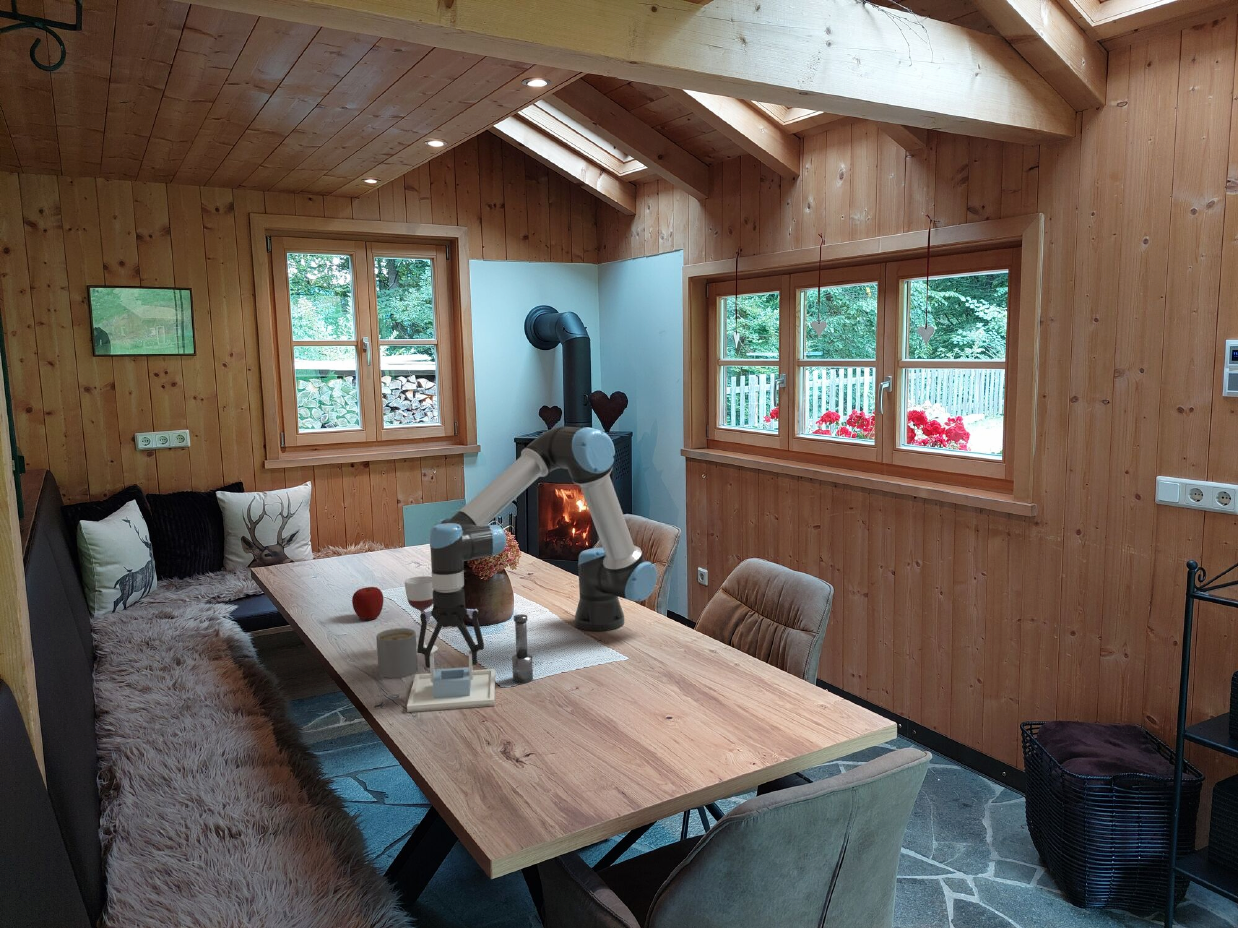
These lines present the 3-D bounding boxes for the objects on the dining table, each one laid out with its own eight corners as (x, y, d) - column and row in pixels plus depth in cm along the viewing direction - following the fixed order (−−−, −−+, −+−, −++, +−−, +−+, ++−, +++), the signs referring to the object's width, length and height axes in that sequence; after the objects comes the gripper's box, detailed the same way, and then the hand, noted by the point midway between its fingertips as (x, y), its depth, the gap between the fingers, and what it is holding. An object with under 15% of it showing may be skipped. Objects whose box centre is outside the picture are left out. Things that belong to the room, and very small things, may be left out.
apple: (346, 621, 268) (344, 590, 267) (366, 612, 277) (364, 582, 275) (371, 624, 264) (369, 592, 263) (390, 615, 273) (389, 584, 272)
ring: (469, 695, 206) (468, 679, 205) (433, 698, 205) (432, 682, 204) (471, 682, 214) (470, 666, 213) (436, 684, 213) (435, 669, 212)
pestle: (532, 675, 219) (530, 612, 217) (533, 682, 214) (530, 618, 212) (512, 676, 219) (510, 614, 217) (513, 683, 214) (510, 620, 212)
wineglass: (432, 655, 236) (429, 584, 233) (403, 653, 238) (399, 583, 235) (444, 645, 244) (440, 576, 241) (415, 643, 245) (412, 575, 243)
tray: (495, 674, 221) (495, 668, 220) (494, 705, 201) (494, 699, 201) (415, 679, 218) (415, 674, 218) (407, 712, 198) (406, 705, 198)
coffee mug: (423, 672, 223) (421, 635, 222) (385, 680, 218) (383, 643, 217) (406, 657, 234) (404, 622, 233) (369, 665, 229) (367, 629, 228)
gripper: (493, 582, 211) (496, 670, 214) (404, 586, 208) (409, 676, 211) (492, 590, 204) (496, 681, 207) (401, 594, 201) (405, 687, 204)
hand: (452, 678), depth 209 cm, fingers open, 8 cm apart
